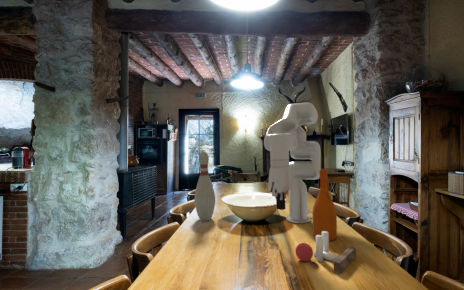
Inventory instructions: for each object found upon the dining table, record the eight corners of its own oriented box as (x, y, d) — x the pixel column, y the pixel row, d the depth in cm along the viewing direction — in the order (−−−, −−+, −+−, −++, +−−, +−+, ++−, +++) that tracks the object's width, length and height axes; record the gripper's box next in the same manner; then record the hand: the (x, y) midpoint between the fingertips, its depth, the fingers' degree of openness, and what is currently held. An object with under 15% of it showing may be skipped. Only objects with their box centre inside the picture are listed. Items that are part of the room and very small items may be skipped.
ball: (318, 252, 92) (306, 238, 95) (314, 255, 87) (301, 240, 90) (306, 263, 93) (295, 249, 96) (301, 266, 88) (289, 251, 91)
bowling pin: (214, 222, 138) (213, 151, 138) (193, 222, 138) (191, 152, 138) (216, 216, 149) (214, 151, 149) (196, 216, 149) (194, 151, 149)
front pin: (316, 248, 96) (339, 254, 90) (317, 253, 96) (340, 260, 90) (313, 251, 94) (337, 257, 88) (314, 257, 94) (338, 264, 88)
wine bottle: (321, 243, 106) (320, 170, 106) (308, 235, 115) (307, 168, 115) (342, 240, 109) (340, 169, 108) (327, 232, 118) (326, 167, 118)
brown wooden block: (350, 255, 94) (350, 245, 94) (356, 256, 93) (355, 247, 93) (333, 272, 83) (333, 261, 83) (340, 274, 81) (339, 263, 81)
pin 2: (323, 253, 97) (323, 230, 97) (329, 254, 95) (329, 232, 95) (320, 255, 95) (320, 232, 95) (327, 257, 93) (326, 233, 93)
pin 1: (317, 257, 93) (317, 234, 93) (324, 259, 91) (323, 235, 91) (315, 260, 91) (314, 236, 91) (321, 262, 90) (321, 237, 90)
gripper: (281, 162, 112) (282, 204, 113) (261, 165, 101) (262, 211, 101) (297, 162, 107) (298, 206, 108) (277, 166, 96) (279, 214, 96)
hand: (280, 209), depth 105 cm, fingers closed
